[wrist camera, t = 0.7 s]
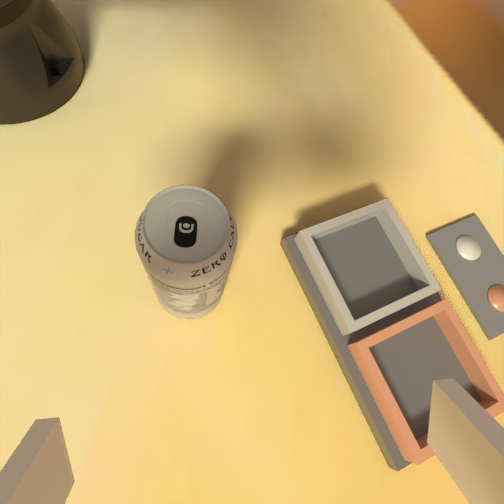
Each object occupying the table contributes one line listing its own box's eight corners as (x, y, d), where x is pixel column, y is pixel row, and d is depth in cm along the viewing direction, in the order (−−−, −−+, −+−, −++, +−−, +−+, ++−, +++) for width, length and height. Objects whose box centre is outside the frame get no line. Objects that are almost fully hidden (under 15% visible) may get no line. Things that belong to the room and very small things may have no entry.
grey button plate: (425, 236, 40) (428, 233, 39) (473, 215, 42) (477, 213, 41) (488, 339, 37) (493, 339, 36) (537, 313, 39) (542, 312, 38)
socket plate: (280, 243, 37) (288, 230, 34) (376, 207, 40) (392, 191, 37) (389, 467, 32) (411, 477, 28) (491, 404, 35) (522, 406, 31)
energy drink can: (223, 260, 36) (242, 180, 22) (220, 322, 34) (238, 278, 20) (160, 256, 35) (137, 170, 21) (153, 319, 33) (122, 271, 19)
